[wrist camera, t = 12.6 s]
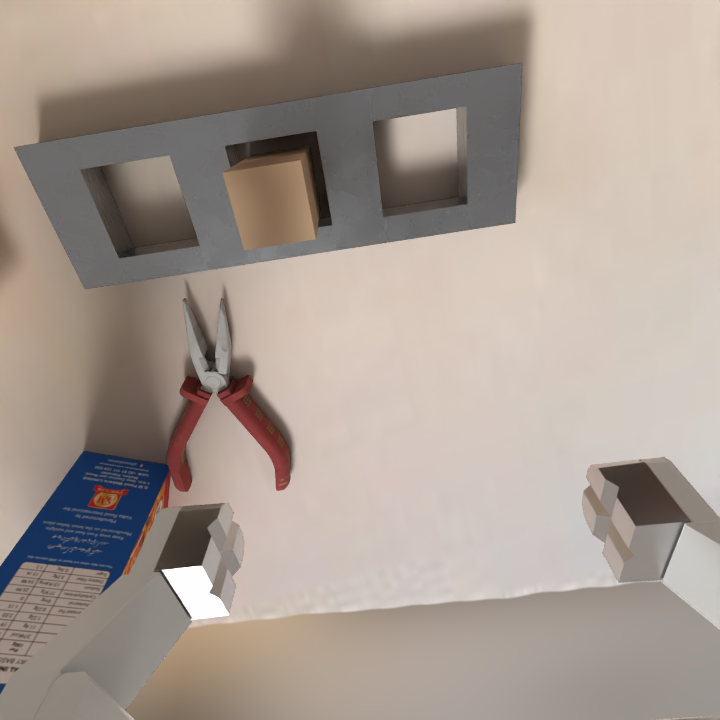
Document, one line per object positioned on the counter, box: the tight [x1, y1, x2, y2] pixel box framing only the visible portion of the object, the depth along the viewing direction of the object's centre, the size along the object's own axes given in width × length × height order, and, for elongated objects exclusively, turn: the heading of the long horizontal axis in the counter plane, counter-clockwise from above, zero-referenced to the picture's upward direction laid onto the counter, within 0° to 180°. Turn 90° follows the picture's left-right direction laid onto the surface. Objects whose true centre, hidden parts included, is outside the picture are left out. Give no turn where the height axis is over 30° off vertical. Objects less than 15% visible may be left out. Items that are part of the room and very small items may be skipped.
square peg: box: [223, 146, 321, 250], centre depth 26 cm, size 4×4×8 cm
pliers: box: [167, 298, 290, 492], centre depth 38 cm, size 12×20×3 cm, turn 178°
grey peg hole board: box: [14, 63, 522, 289], centre depth 28 cm, size 30×9×2 cm, turn 98°
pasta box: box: [0, 451, 171, 711], centre depth 36 cm, size 28×8×28 cm, turn 164°
